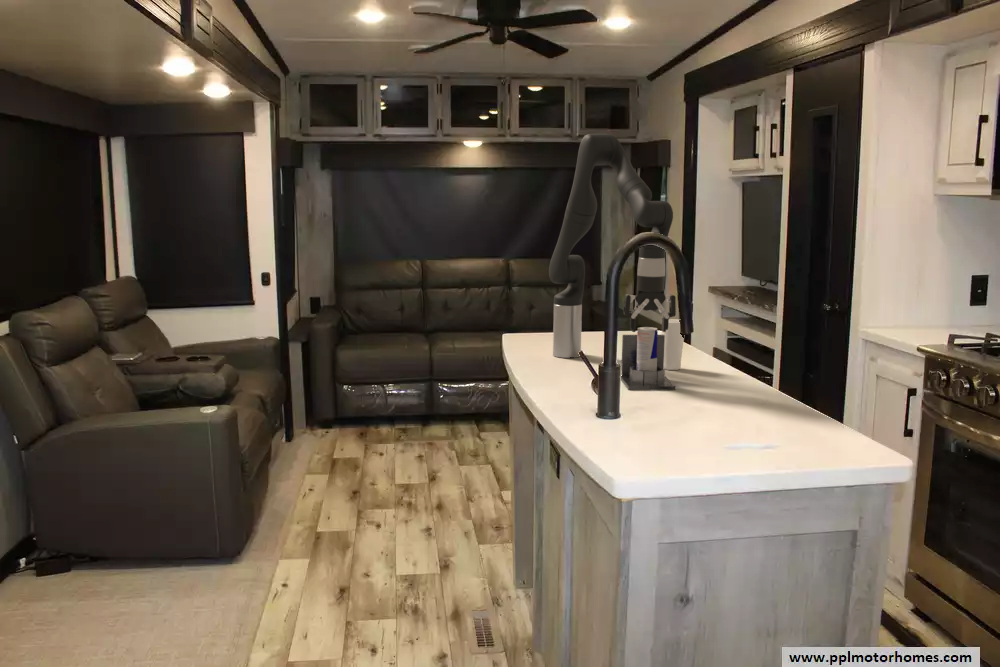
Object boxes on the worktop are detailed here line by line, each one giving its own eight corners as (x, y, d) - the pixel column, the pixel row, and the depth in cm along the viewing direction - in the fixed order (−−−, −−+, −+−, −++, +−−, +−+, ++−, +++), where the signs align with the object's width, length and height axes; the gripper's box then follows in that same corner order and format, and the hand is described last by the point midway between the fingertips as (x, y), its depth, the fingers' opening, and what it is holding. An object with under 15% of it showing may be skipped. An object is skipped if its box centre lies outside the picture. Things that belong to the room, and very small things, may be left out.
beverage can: (656, 382, 229) (657, 329, 227) (636, 382, 230) (637, 329, 228) (656, 378, 235) (657, 326, 232) (636, 377, 236) (637, 326, 233)
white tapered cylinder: (681, 366, 256) (683, 319, 253) (684, 371, 249) (686, 322, 246) (659, 366, 256) (661, 318, 254) (661, 371, 250) (663, 322, 247)
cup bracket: (619, 378, 239) (620, 334, 237) (663, 378, 240) (665, 334, 237) (628, 390, 225) (630, 343, 223) (675, 389, 226) (677, 343, 224)
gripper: (673, 272, 231) (670, 329, 234) (623, 272, 230) (620, 329, 233) (680, 275, 224) (677, 334, 227) (628, 275, 223) (625, 334, 226)
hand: (648, 331), depth 230 cm, fingers open, 8 cm apart
